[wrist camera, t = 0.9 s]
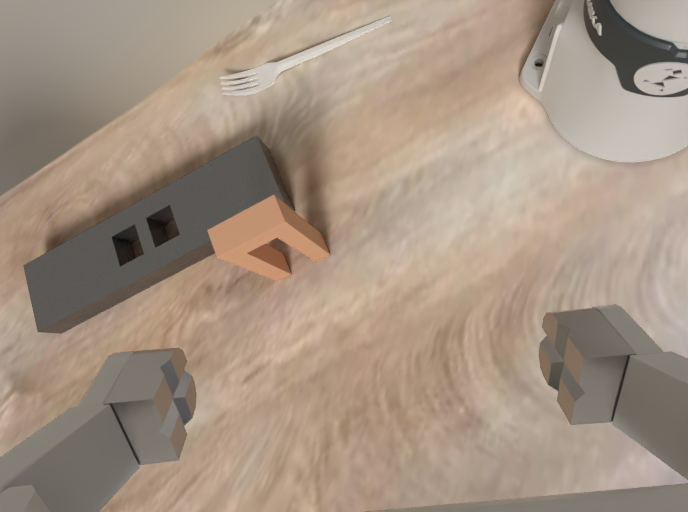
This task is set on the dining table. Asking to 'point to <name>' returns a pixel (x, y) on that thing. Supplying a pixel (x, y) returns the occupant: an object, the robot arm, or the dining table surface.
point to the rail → (148, 238)
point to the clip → (266, 238)
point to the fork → (289, 63)
